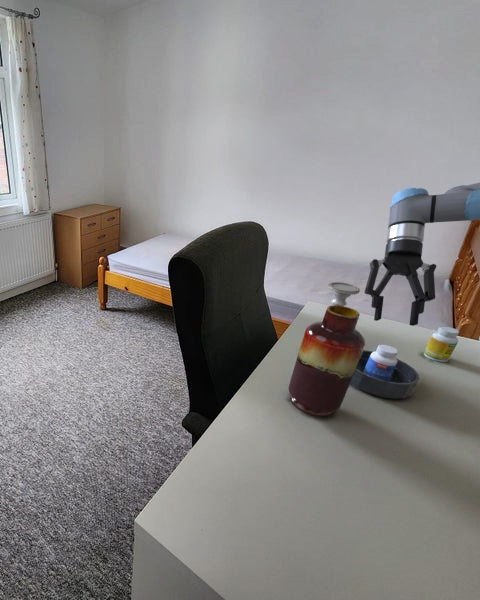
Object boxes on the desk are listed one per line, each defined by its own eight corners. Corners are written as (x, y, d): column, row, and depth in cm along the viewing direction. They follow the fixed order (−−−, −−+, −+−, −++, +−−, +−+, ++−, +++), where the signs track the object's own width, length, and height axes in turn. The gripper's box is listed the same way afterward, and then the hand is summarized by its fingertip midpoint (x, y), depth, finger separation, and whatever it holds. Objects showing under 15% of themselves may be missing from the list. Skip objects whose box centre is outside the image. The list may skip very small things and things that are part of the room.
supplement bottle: (428, 350, 104) (441, 323, 100) (451, 359, 100) (466, 331, 96) (419, 355, 102) (432, 327, 98) (442, 364, 98) (457, 336, 94)
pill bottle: (367, 383, 90) (380, 353, 86) (358, 371, 95) (369, 342, 90) (392, 386, 89) (406, 355, 84) (380, 374, 93) (394, 344, 89)
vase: (347, 423, 78) (388, 325, 67) (294, 417, 80) (326, 320, 69) (325, 392, 88) (358, 301, 77) (279, 387, 90) (305, 298, 79)
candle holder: (303, 337, 113) (320, 280, 104) (332, 338, 111) (352, 281, 103) (315, 351, 105) (335, 291, 96) (347, 353, 103) (369, 293, 95)
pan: (380, 364, 98) (387, 349, 96) (428, 400, 85) (436, 384, 82) (327, 364, 99) (332, 350, 97) (365, 400, 85) (372, 384, 83)
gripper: (444, 250, 94) (436, 331, 91) (356, 245, 103) (346, 318, 100) (460, 240, 87) (452, 326, 84) (364, 235, 96) (354, 313, 93)
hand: (395, 322), depth 92 cm, fingers open, 7 cm apart
